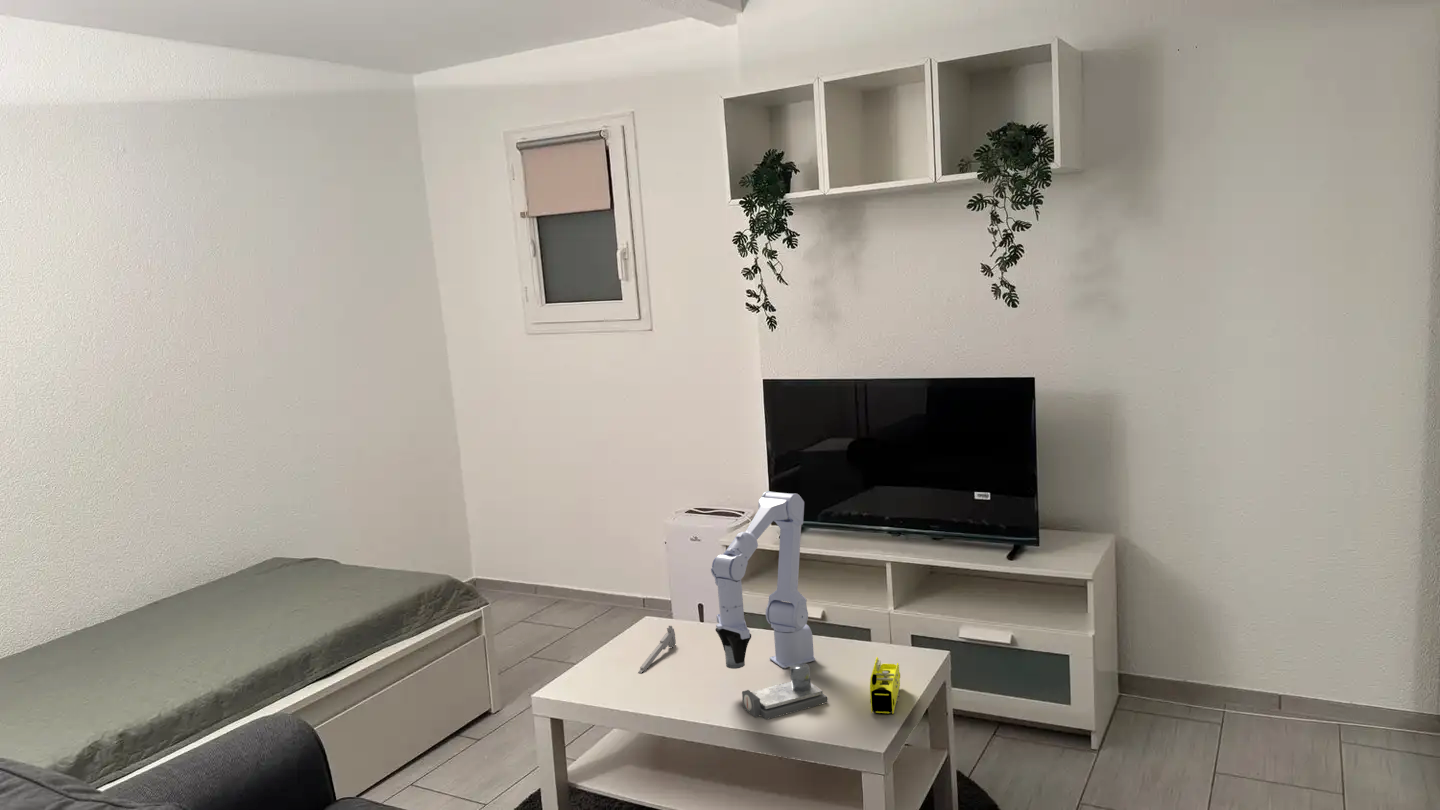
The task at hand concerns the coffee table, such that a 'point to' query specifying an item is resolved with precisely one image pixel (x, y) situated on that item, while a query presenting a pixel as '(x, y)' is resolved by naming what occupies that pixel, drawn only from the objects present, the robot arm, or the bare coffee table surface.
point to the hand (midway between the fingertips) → (735, 659)
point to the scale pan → (784, 695)
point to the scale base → (755, 709)
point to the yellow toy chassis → (884, 687)
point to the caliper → (660, 648)
